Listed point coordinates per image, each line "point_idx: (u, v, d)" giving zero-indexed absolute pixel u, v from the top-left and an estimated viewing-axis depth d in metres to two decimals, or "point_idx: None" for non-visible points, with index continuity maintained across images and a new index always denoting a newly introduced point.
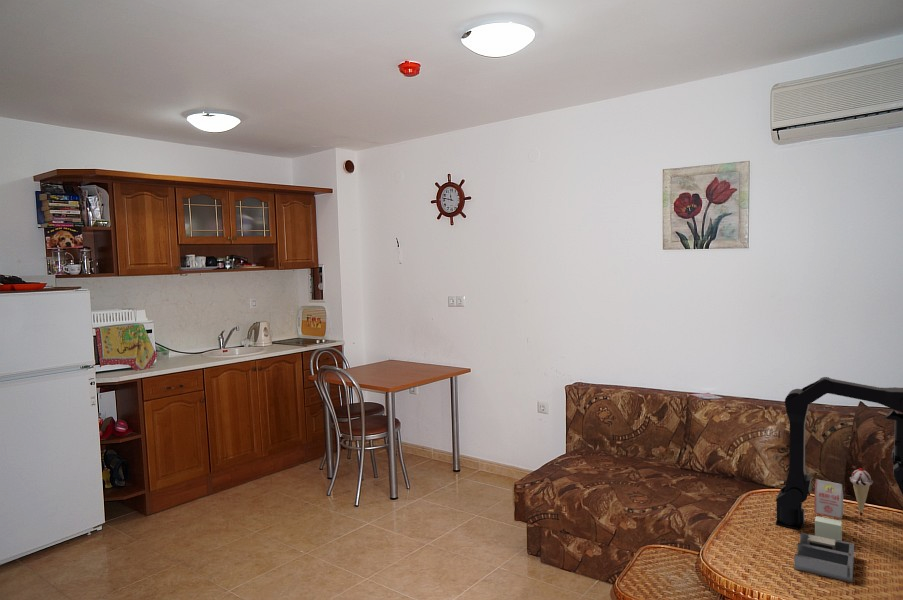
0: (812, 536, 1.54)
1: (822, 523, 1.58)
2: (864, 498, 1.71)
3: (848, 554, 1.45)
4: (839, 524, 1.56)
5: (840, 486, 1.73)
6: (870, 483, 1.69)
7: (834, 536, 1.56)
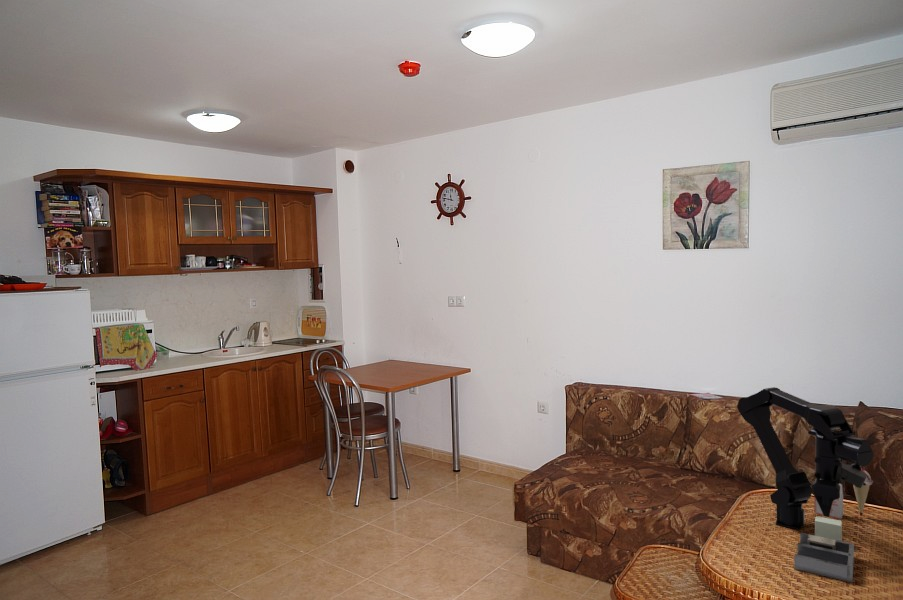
0: (812, 536, 1.54)
1: (822, 523, 1.58)
2: (864, 498, 1.71)
3: (848, 554, 1.45)
4: (839, 524, 1.56)
5: (840, 486, 1.73)
6: (870, 483, 1.69)
7: (834, 536, 1.56)
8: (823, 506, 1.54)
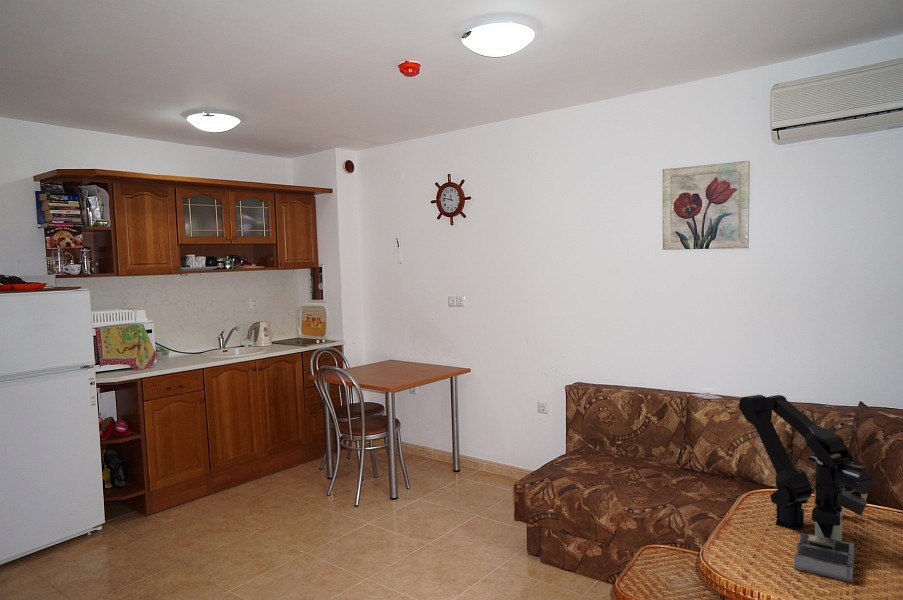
0: (812, 536, 1.54)
1: None
2: None
3: (848, 554, 1.45)
4: None
5: None
6: None
7: (834, 536, 1.56)
8: (824, 529, 1.56)
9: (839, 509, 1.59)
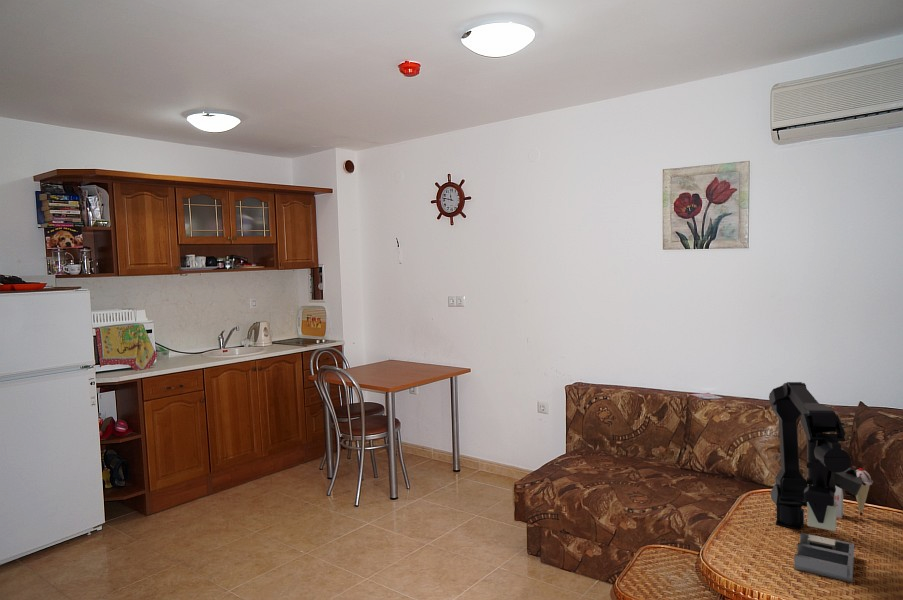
0: (812, 536, 1.54)
1: None
2: (864, 498, 1.71)
3: (848, 554, 1.45)
4: (833, 506, 1.44)
5: None
6: (870, 483, 1.69)
7: (828, 519, 1.44)
8: (817, 512, 1.44)
9: (833, 490, 1.47)
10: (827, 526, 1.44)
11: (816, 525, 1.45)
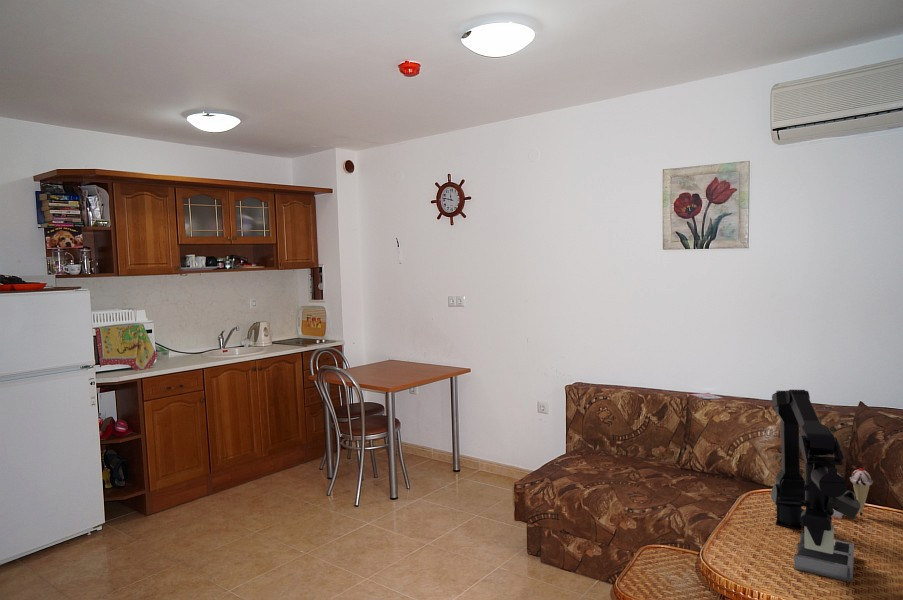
0: None
1: None
2: (864, 498, 1.71)
3: (848, 554, 1.45)
4: (831, 528, 1.43)
5: None
6: (870, 483, 1.69)
7: (825, 542, 1.43)
8: (814, 534, 1.43)
9: (831, 512, 1.46)
10: (824, 549, 1.43)
11: (813, 548, 1.44)
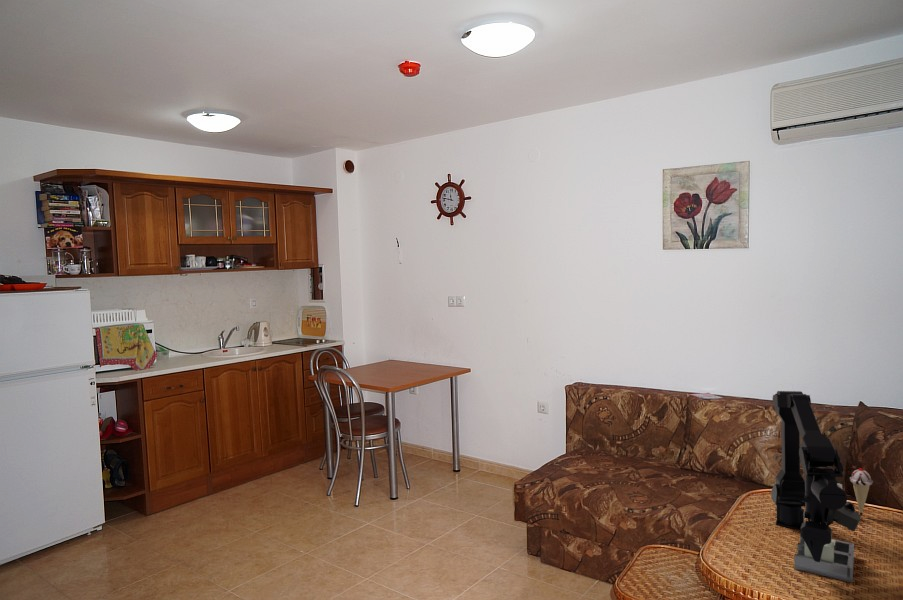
0: None
1: None
2: (864, 498, 1.71)
3: (848, 554, 1.45)
4: (831, 546, 1.43)
5: (840, 486, 1.73)
6: (870, 483, 1.69)
7: (825, 559, 1.43)
8: (813, 550, 1.41)
9: None
10: None
11: None
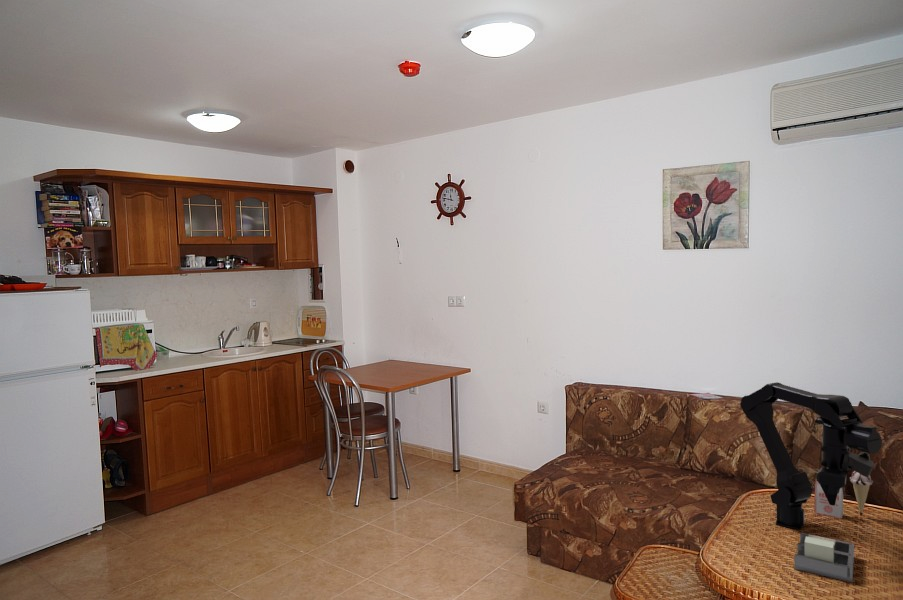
0: (812, 536, 1.54)
1: (812, 545, 1.45)
2: (864, 498, 1.71)
3: (848, 554, 1.45)
4: (831, 546, 1.43)
5: None
6: (870, 483, 1.69)
7: (825, 559, 1.43)
8: (829, 494, 1.53)
9: (847, 469, 1.60)
10: None
11: None
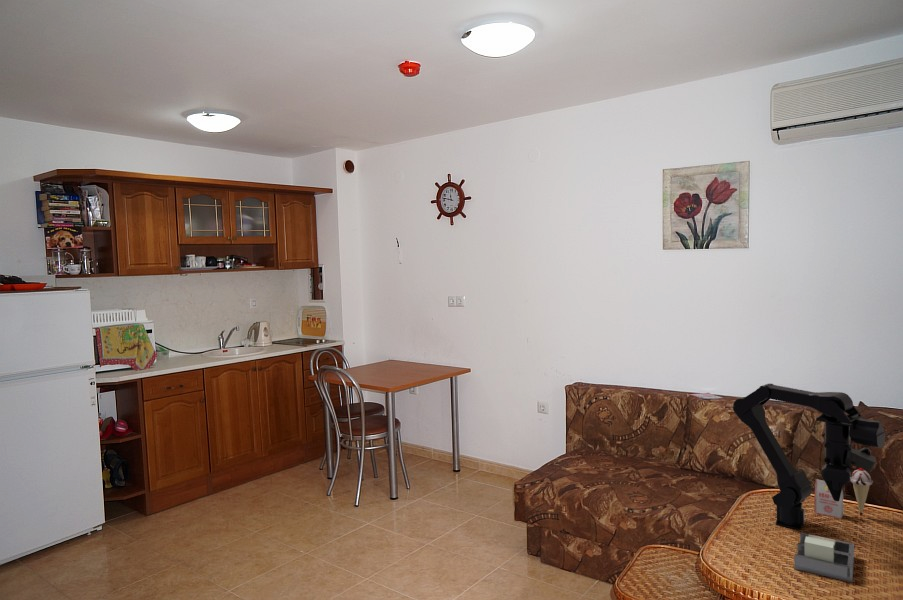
0: (812, 536, 1.54)
1: (812, 545, 1.45)
2: (864, 498, 1.71)
3: (848, 554, 1.45)
4: (831, 546, 1.43)
5: None
6: (870, 483, 1.69)
7: (825, 559, 1.43)
8: (833, 490, 1.55)
9: None
10: None
11: None
